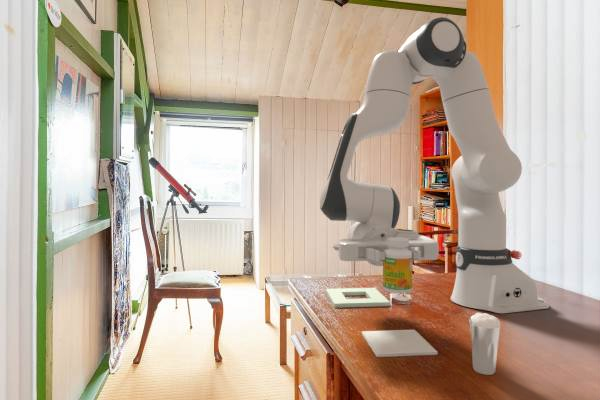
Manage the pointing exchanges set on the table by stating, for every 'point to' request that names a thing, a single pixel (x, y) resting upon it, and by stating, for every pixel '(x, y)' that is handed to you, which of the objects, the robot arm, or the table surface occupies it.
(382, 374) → the table surface
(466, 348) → the table surface
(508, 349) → the table surface
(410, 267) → the supplement bottle
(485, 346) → the milkshake
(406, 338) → the mat
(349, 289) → the well board
